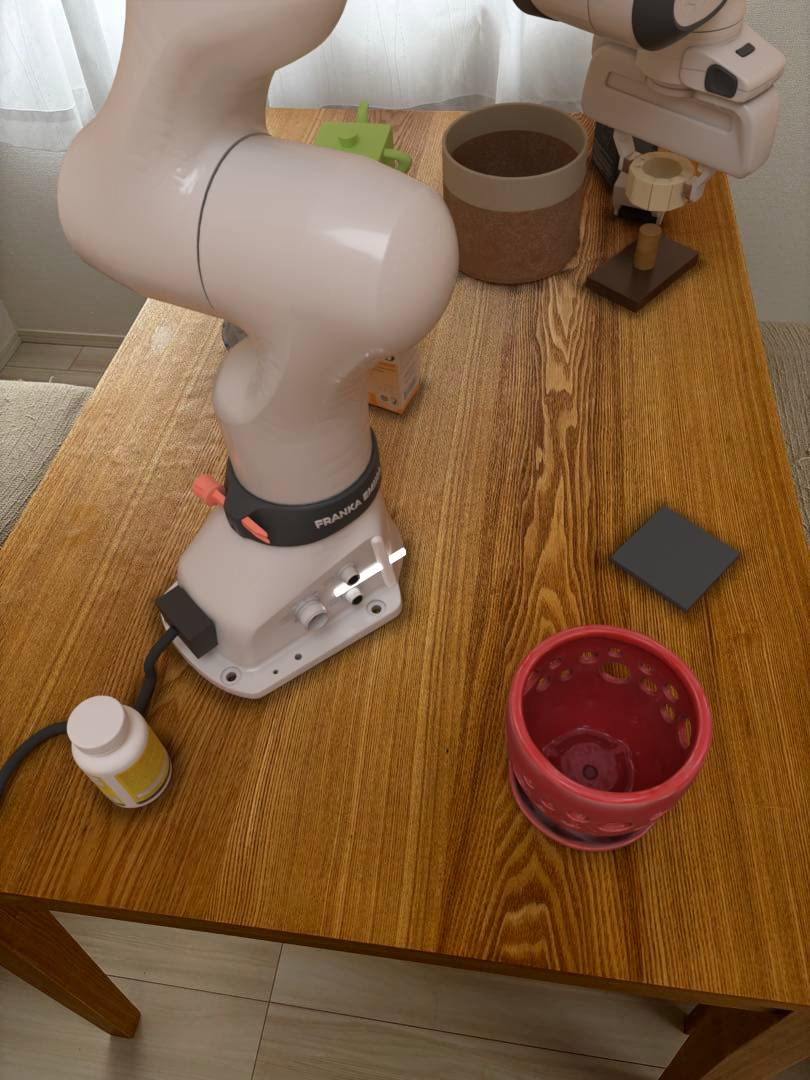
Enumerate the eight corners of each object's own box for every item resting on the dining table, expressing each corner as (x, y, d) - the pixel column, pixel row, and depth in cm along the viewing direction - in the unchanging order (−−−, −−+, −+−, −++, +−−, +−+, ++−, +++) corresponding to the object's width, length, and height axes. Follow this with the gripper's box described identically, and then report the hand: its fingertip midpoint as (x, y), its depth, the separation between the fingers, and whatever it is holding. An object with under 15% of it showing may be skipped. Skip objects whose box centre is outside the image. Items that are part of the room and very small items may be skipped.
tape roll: (665, 219, 89) (671, 192, 87) (613, 195, 92) (617, 169, 90) (701, 192, 92) (707, 166, 90) (649, 171, 95) (654, 144, 93)
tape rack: (635, 313, 97) (644, 267, 92) (585, 287, 100) (591, 241, 95) (697, 263, 101) (708, 217, 97) (647, 240, 105) (656, 194, 100)
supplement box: (332, 396, 92) (314, 294, 81) (353, 367, 94) (339, 264, 83) (402, 417, 89) (393, 315, 79) (422, 387, 92) (416, 284, 81)
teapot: (371, 169, 117) (364, 89, 109) (434, 210, 111) (432, 129, 102) (277, 213, 112) (262, 133, 104) (338, 260, 106) (327, 178, 97)
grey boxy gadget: (615, 223, 110) (606, 194, 101) (633, 171, 109) (625, 137, 100) (661, 233, 108) (655, 205, 99) (679, 180, 107) (676, 147, 98)
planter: (427, 277, 103) (423, 168, 92) (464, 203, 111) (464, 95, 100) (560, 298, 99) (572, 187, 88) (587, 219, 108) (601, 109, 97)
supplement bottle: (177, 740, 69) (140, 683, 61) (168, 807, 66) (128, 756, 58) (110, 744, 69) (64, 688, 61) (98, 811, 66) (48, 761, 58)
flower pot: (663, 890, 60) (700, 834, 51) (480, 832, 63) (483, 769, 54) (689, 724, 67) (726, 647, 58) (524, 679, 71) (534, 599, 61)
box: (652, 183, 112) (668, 101, 103) (611, 191, 111) (623, 109, 103) (629, 152, 116) (642, 71, 108) (589, 159, 116) (599, 78, 107)
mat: (685, 613, 73) (687, 609, 73) (609, 560, 77) (610, 556, 77) (738, 557, 76) (740, 553, 76) (662, 509, 80) (663, 504, 80)
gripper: (576, 26, 84) (562, 162, 95) (765, 91, 74) (725, 233, 85) (616, 4, 86) (598, 139, 97) (804, 64, 77) (761, 206, 88)
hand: (659, 184), depth 91 cm, fingers closed on tape roll, 6 cm apart
